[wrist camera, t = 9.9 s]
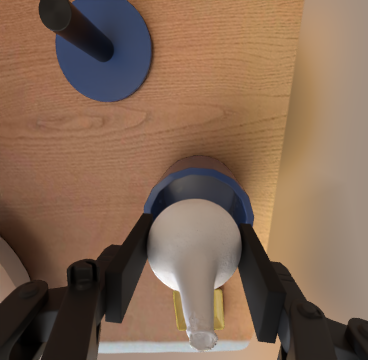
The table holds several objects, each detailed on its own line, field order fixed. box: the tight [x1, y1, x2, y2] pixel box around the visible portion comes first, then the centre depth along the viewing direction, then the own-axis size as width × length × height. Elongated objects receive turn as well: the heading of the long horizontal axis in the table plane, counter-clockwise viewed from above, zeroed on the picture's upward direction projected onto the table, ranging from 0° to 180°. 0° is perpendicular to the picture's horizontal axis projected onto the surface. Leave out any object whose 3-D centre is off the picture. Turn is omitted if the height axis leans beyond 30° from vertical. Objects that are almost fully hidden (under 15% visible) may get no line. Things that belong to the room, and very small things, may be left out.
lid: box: [39, 0, 152, 102], centre depth 25 cm, size 14×14×11 cm
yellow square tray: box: [173, 288, 224, 330], centre depth 39 cm, size 9×9×2 cm
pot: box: [144, 156, 254, 229], centre depth 30 cm, size 13×13×10 cm
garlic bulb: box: [147, 199, 242, 352], centre depth 12 cm, size 6×6×8 cm
